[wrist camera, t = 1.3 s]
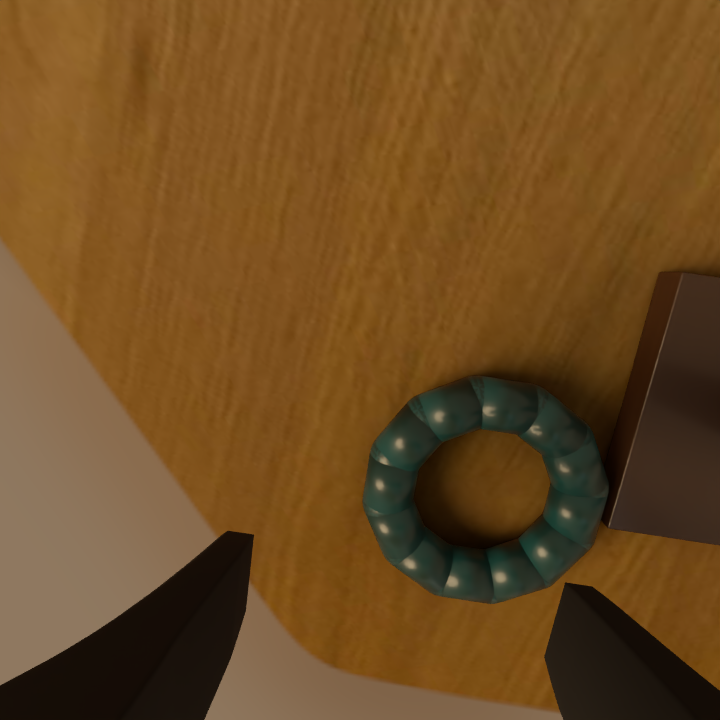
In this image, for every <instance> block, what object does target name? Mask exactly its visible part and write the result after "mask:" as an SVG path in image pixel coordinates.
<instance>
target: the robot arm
mask: <svg viewBox="0 0 720 720" xmlns="http://www.w3.org/2000/svg"><path fill="white" fill-rule="evenodd" d="M253 538H254V535H252V534H246V533H239V532H233V531H227V532H225V533H224V534H222V535H221V536H220V537H219V538H218V539H217V540H215V541H214V542H213V543H212V544H211V545H210V546H208V547H207V548H206V549H205V550H204V551H203V552H201V553H200V554H199V555H198V556H197V557H195V558H194V559H193V560H192V561H191V562H190V563H188V564H187V565H186V566H185V567H184V568H182V569H181V570H180V571H178V572H177V573H176V574H174V576H172V577H171V578H169V579H168V580H167V581H166V582H164V583H163V584H162V585H161V586H160V587H158V588H157V589H155V590H154V591H153V592H151V593H150V594H149V595H147V596H146V597H144V598H143V599H142V600H140V601H139V602H138V603H136V604H135V605H133V606H132V607H131V608H129V609H128V610H126V611H125V612H124V613H122V614H121V615H119V616H118V617H117V618H115V619H114V620H112V621H111V622H109V623H108V624H106V625H105V626H103V627H102V628H100V629H99V630H97V631H96V632H94V633H92V634H91V635H90V636H88V637H86V638H84V639H83V640H81V641H80V642H78V643H76V644H75V645H73V646H71V647H70V648H68V649H66V650H65V651H63V652H61V653H60V654H58V655H56V656H54V657H53V658H51V659H49V660H47V661H45V662H43V663H41V664H40V665H38V666H36V667H34V668H32V669H30V670H28V671H26V672H25V673H23V674H21V675H19V676H17V677H15V678H13V679H12V680H10V681H8V682H6V683H4V684H2V685H0V720H204V719H205V717H206V714H207V712H208V710H209V708H210V705H211V703H212V701H213V698H214V696H215V694H216V691H217V689H218V687H219V684H220V682H221V680H222V677H223V675H224V673H225V670H226V668H227V665H228V663H229V661H230V659H231V656H232V653H233V650H234V647H235V643H236V640H237V637H238V634H239V631H240V628H241V625H242V621H243V618H244V615H245V612H246V604H247V594H248V585H249V576H250V566H251V557H252V548H253ZM544 658H545V661H546V665H547V669H548V672H549V676H550V680H551V683H552V687H553V690H554V693H555V697H556V700H557V703H558V706H559V710H560V712H561V715H562V717H563V720H720V691H719V690H718V689H717V688H716V687H714V686H713V685H712V684H711V683H709V682H708V681H707V680H706V679H704V678H703V677H702V676H701V675H699V674H698V673H697V672H696V671H694V670H693V669H692V668H691V667H690V666H688V665H687V664H686V663H685V662H683V661H682V660H681V659H680V658H679V657H677V656H676V655H675V654H674V653H673V652H671V651H670V650H669V649H668V648H667V647H665V646H664V645H663V644H662V643H661V642H659V641H658V640H657V639H656V638H655V637H654V636H652V635H651V634H650V633H649V632H648V631H646V630H645V629H644V628H643V627H642V626H640V625H639V624H638V623H637V622H636V621H635V620H633V619H632V618H631V617H630V616H629V615H627V614H626V613H625V612H624V611H623V610H621V609H620V608H619V607H618V606H616V605H615V604H614V603H613V602H612V601H610V600H609V599H608V598H606V597H605V596H604V595H603V594H601V593H600V592H599V591H597V590H596V589H595V588H593V587H591V586H585V585H578V584H572V583H565V585H564V589H563V592H562V596H561V600H560V603H559V607H558V610H557V614H556V617H555V621H554V625H553V628H552V632H551V635H550V639H549V642H548V646H547V650H546V653H545V657H544Z"/></svg>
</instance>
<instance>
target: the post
mask: <svg viewBox="0 0 720 720" xmlns="http://www.w3.org/2000/svg"><path fill="white" fill-rule="evenodd" d="M604 469H605V472H606V476H607V479H608V482H609V493H608V497H607V500H606V504H605V507H604V511H603V514H602V518H601V521H602V522H603V523H604V524H605V525H606V526H607V528H609V529H616V530H623V531H629V532H636V533H642V534H649V535H655V536H662V537H668V538H675V539H682V540H688V541H695V542H701V543H708V544H714V545H720V277H713V276H707V275H700V274H693V273H686V272H660V273H659V275H658V279H657V282H656V286H655V289H654V293H653V297H652V300H651V304H650V307H649V311H648V314H647V318H646V321H645V325H644V329H643V332H642V336H641V339H640V343H639V346H638V350H637V353H636V357H635V361H634V364H633V368H632V371H631V375H630V378H629V382H628V385H627V389H626V393H625V396H624V400H623V403H622V407H621V410H620V414H619V417H618V421H617V425H616V428H615V432H614V435H613V439H612V442H611V446H610V449H609V453H608V457H607V460H606V464H605V467H604Z"/></svg>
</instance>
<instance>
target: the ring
mask: <svg viewBox="0 0 720 720" xmlns="http://www.w3.org/2000/svg"><path fill="white" fill-rule="evenodd" d="M478 429H484V430H491V431H497V432H504V433H511V434H517V435H518V436H519V437H520V438H522V439H523V440H524V441H525V442H527V443H528V444H529V445H530V446H532V447H533V448H534V449H535V450H537V451H538V452H539V453H541V454H542V457H543V460H544V463H545V466H546V469H547V472H548V475H549V478H550V481H551V485H550V489H549V493H548V496H547V500H546V504H545V508H544V512H543V514H542V515H541V516H540V517H539V518H538V519H537V520H536V521H535V522H534V523H533V524H532V525H531V526H530V527H529V528H528V529H527V530H526V531H525V532H524V533H523V534H522V535H521V536H520V537H519V538H518V539H515V540H512V541H508V542H505V543H502V544H499V545H496V546H493V547H490V548H487V549H484V550H483V549H477V548H470V547H464V546H457V545H451V544H448V543H447V542H445V541H444V540H443V539H441V538H440V537H439V536H437V535H436V534H435V533H433V532H432V531H431V530H429V529H428V528H427V527H425V526H424V524H423V522H422V519H421V517H420V514H419V512H418V509H417V507H416V504H415V502H414V493H415V488H416V483H417V477H418V472H419V468H420V467H421V466H422V465H423V464H424V463H425V462H426V461H427V459H428V458H429V457H430V456H431V455H432V454H433V453H434V452H435V450H436V449H437V448H438V447H439V446H440V445H441V444H442V443H443V442H444V441H447V440H450V439H453V438H456V437H459V436H461V435H464V434H467V433H470V432H473V431H476V430H478ZM608 493H609V482H608V479H607V476H606V472H605V469H604V466H603V463H602V460H601V456H600V453H599V450H598V447H597V444H596V441H595V437H594V434H593V432H592V430H591V428H590V427H589V425H588V424H587V423H586V422H585V421H583V420H582V419H581V418H580V417H579V416H577V415H576V414H575V413H574V412H572V411H571V410H570V409H569V408H568V407H566V406H565V405H564V404H563V403H561V402H560V401H559V400H558V399H557V398H555V397H554V396H553V395H552V394H550V393H549V392H548V391H547V390H545V389H544V388H542V387H541V386H538V385H536V384H532V383H525V382H518V381H512V380H505V379H498V378H492V377H485V376H477V375H475V376H469V377H465V378H463V379H460V380H457V381H455V382H452V383H449V384H446V385H444V386H441V387H438V388H435V389H433V390H430V391H427V392H425V393H422V394H419V395H417V396H415V397H413V398H412V399H411V400H409V401H408V402H407V404H406V405H405V406H404V407H403V408H402V409H401V411H400V412H399V413H398V414H397V415H396V416H395V418H394V419H393V420H392V421H391V422H390V423H389V425H388V426H387V427H386V428H385V429H384V430H383V432H382V433H381V434H380V435H379V436H378V437H377V439H376V440H375V441H374V443H373V445H372V447H371V451H370V456H369V463H368V469H367V475H366V481H365V488H364V494H363V507H364V511H365V513H366V516H367V518H368V520H369V523H370V525H371V527H372V530H373V532H374V534H375V536H376V539H377V541H378V543H379V546H380V548H381V550H382V553H383V554H384V557H385V558H386V559H387V561H389V562H390V563H391V564H392V565H393V566H395V567H396V568H397V569H399V570H400V571H401V572H403V573H404V574H406V575H407V576H408V577H410V578H411V579H412V580H414V581H415V582H417V583H418V584H419V585H421V586H422V587H423V588H425V589H426V590H427V591H429V592H430V593H432V594H434V595H437V596H442V597H448V598H455V599H461V600H468V601H474V602H481V603H487V604H495V603H499V602H503V601H506V600H509V599H513V598H516V597H519V596H522V595H526V594H529V593H532V592H535V591H539V590H542V589H545V588H548V587H550V586H551V585H553V584H554V583H555V582H556V581H557V580H558V579H559V578H560V577H561V576H562V575H563V574H564V573H565V572H566V571H568V570H569V569H570V568H571V567H572V566H573V565H574V564H575V563H576V562H577V561H578V560H579V559H580V558H581V557H582V556H583V555H584V554H585V553H586V552H587V551H588V550H589V549H590V548H591V547H592V545H593V544H594V542H595V539H596V535H597V532H598V528H599V525H600V521H601V518H602V514H603V511H604V507H605V504H606V500H607V497H608Z"/></svg>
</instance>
